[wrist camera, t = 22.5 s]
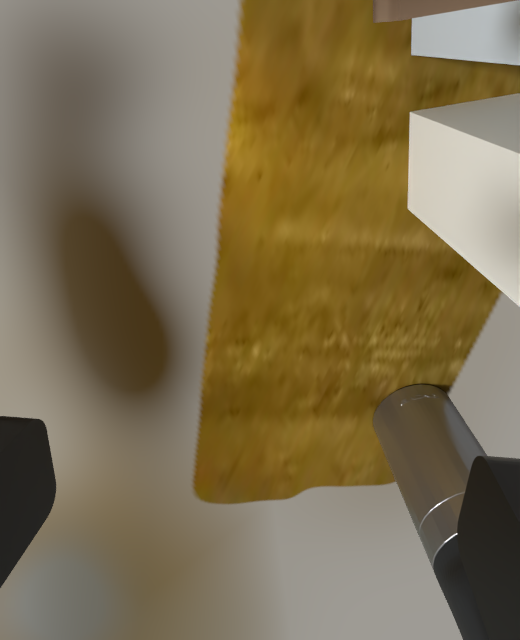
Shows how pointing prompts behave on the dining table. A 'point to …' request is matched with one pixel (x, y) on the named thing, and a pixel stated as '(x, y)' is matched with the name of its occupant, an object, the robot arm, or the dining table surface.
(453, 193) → the tall pedestal
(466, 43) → the short pedestal
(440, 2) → the mallet
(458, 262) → the dining table surface
